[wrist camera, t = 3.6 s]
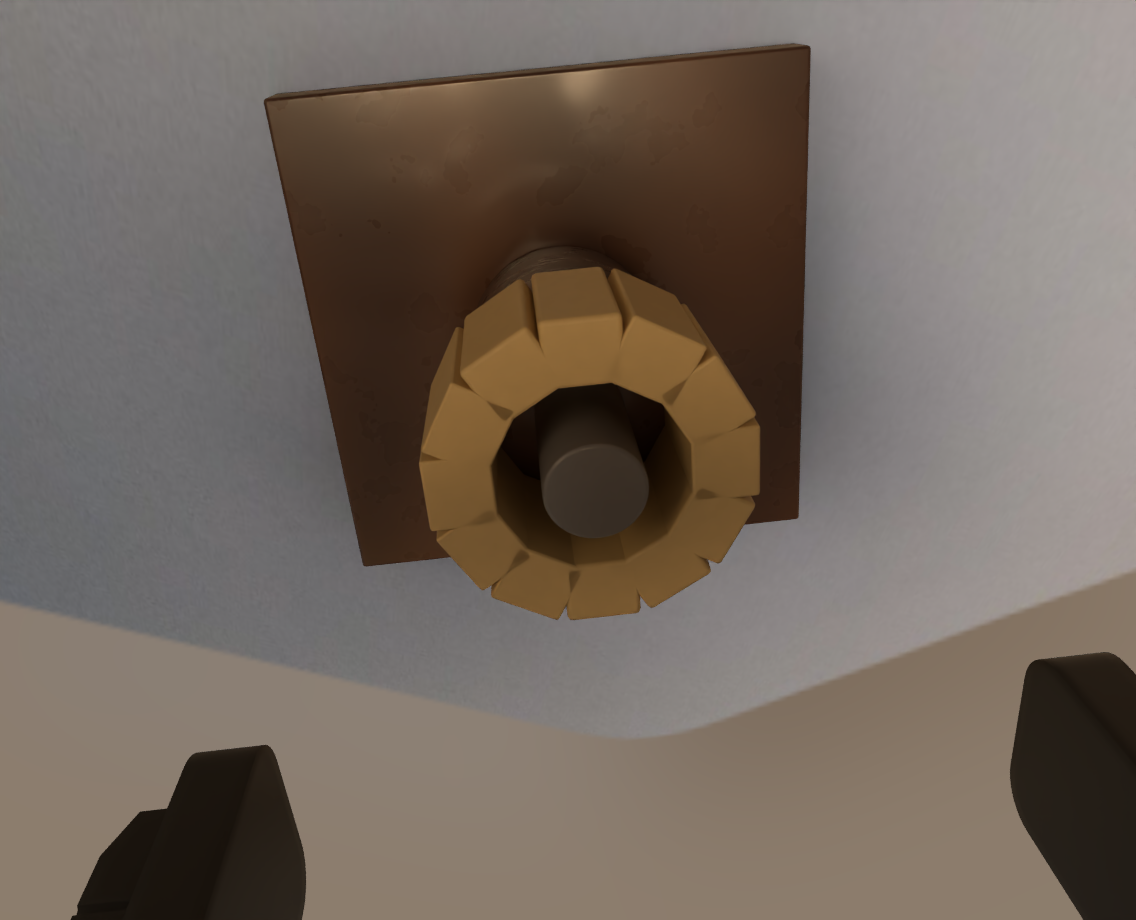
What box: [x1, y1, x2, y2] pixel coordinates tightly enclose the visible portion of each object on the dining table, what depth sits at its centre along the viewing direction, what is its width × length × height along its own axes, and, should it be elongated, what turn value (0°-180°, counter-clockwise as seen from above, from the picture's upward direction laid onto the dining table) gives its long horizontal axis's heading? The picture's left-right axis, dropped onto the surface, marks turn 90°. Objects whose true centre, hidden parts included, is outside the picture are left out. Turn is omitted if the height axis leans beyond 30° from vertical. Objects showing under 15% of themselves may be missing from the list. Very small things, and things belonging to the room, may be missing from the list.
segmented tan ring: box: [419, 267, 760, 620], centre depth 18 cm, size 6×6×3 cm
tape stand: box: [264, 43, 811, 566], centre depth 20 cm, size 12×12×10 cm
